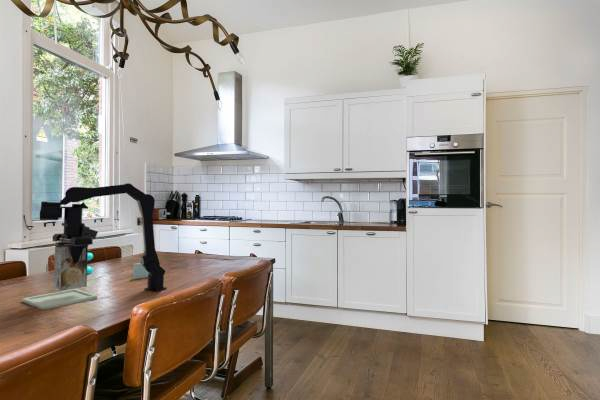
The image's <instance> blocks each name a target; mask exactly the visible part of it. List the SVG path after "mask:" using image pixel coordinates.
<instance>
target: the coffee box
mask: <svg viewBox="0 0 600 400" xmlns="http://www.w3.org/2000/svg"><path fill="white" fill-rule="evenodd" d="M68 245H71V244H64V245H57V244H55V245H54V270H53V272H54V274H53V275H54V277H53V279H54V280H53V288H54V289H55V290H58V291H59V292H61V291H67V290H72V289H80V288H87V285H88V283H87V282H88V274H87V266H88V261H87V256H88V253H89V251H88V250H89V248H88V247H89V246H87V247H85V248H84V249H83V251H82V253H81V255H80V258H79V260H78V263H74V262H73V259H72V256H71V252H70V249H69V246H68Z"/></svg>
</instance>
